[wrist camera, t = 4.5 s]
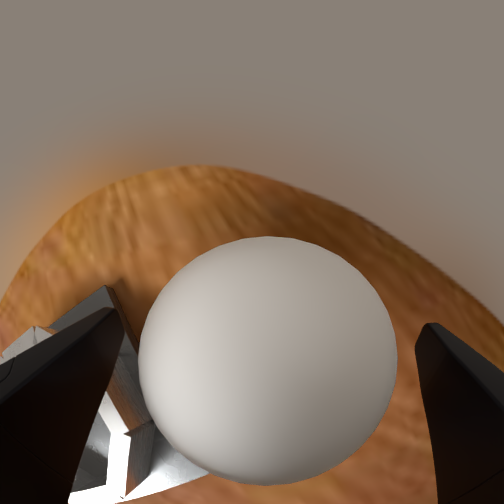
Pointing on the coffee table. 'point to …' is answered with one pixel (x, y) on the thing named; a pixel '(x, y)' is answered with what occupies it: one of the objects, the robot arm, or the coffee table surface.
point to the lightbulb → (267, 360)
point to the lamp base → (117, 423)
